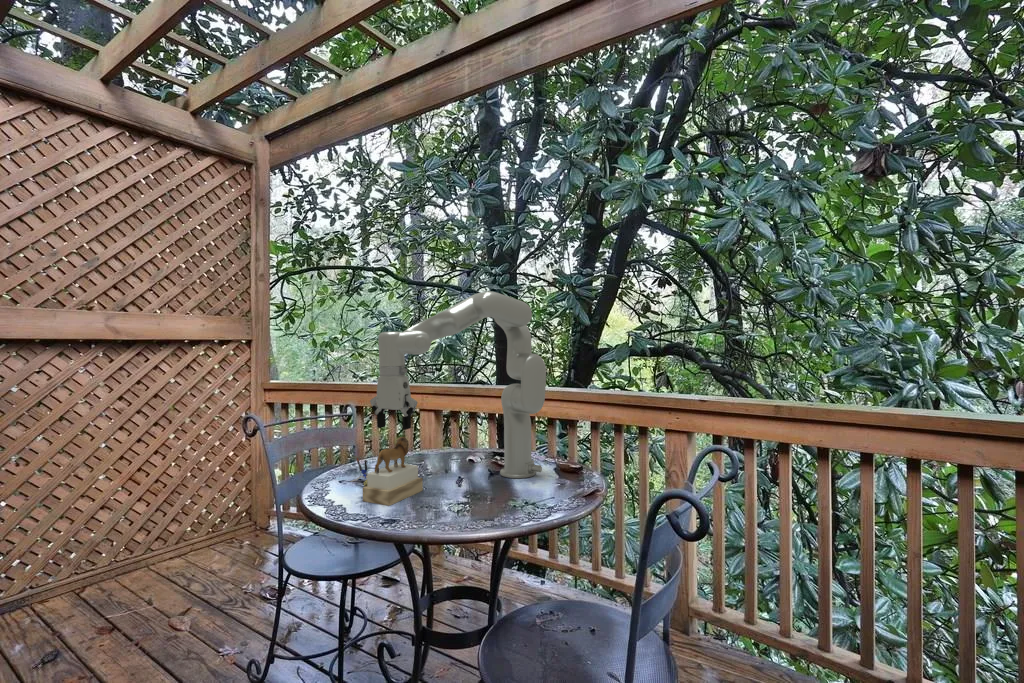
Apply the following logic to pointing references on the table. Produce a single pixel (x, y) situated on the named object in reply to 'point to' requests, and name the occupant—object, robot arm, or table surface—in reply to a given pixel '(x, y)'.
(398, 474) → the cream brick
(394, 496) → the oak base brick
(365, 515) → the table surface
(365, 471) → the figurine
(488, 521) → the table surface
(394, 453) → the lion figurine
